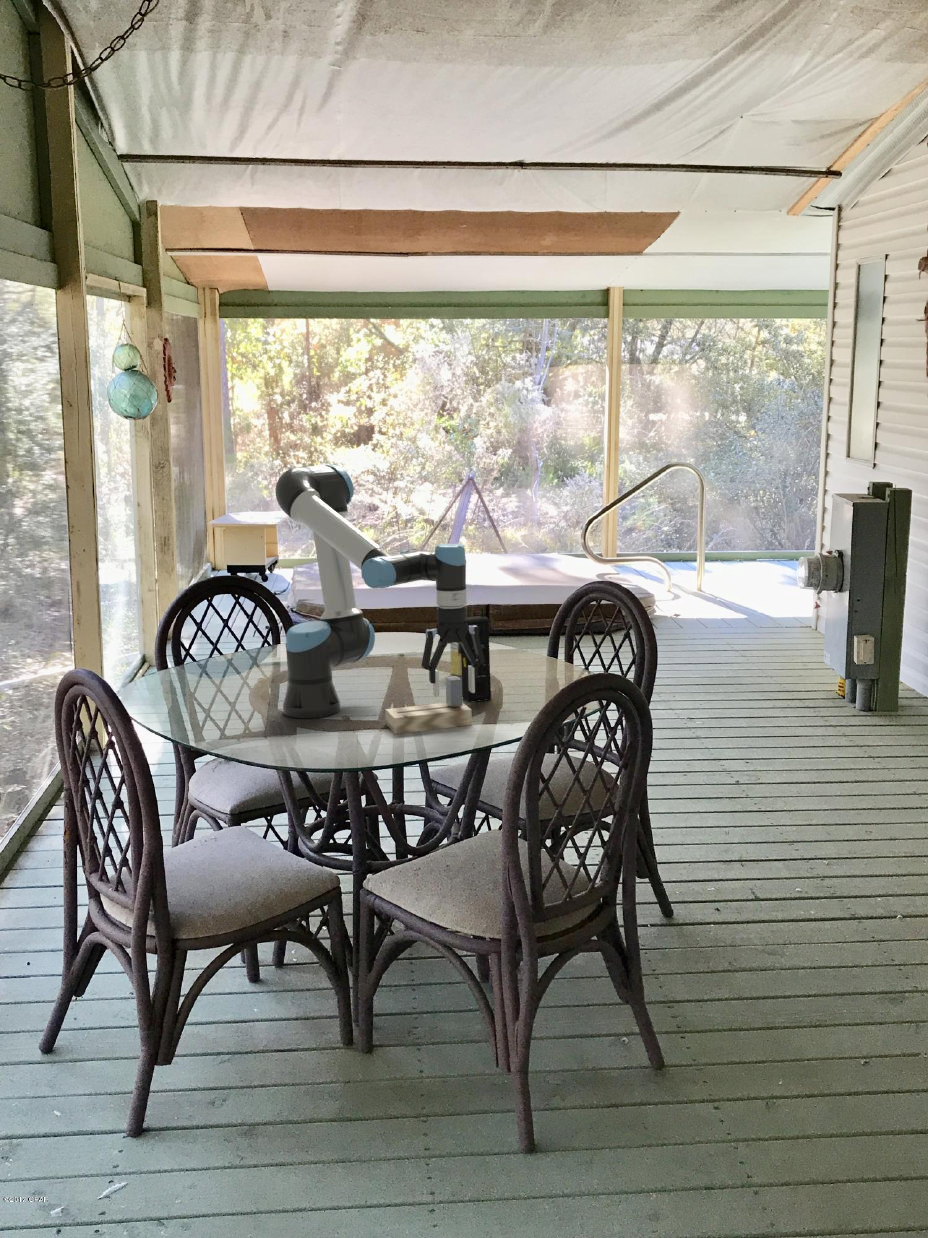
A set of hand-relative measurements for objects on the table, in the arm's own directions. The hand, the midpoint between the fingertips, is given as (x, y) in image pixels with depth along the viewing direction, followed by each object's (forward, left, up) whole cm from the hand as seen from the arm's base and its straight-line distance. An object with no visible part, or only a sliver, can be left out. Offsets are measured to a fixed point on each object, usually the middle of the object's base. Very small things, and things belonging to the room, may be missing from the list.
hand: (454, 693), depth 292 cm
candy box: (+20, +50, -8) cm, 54 cm away
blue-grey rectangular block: (0, 0, -3) cm, 3 cm away
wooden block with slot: (-7, 0, -7) cm, 10 cm away
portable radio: (+12, +19, -8) cm, 24 cm away
